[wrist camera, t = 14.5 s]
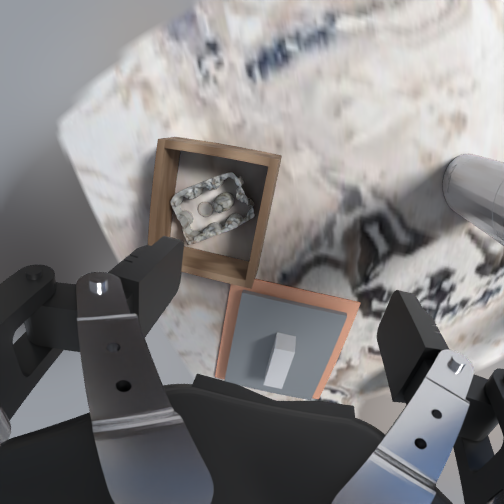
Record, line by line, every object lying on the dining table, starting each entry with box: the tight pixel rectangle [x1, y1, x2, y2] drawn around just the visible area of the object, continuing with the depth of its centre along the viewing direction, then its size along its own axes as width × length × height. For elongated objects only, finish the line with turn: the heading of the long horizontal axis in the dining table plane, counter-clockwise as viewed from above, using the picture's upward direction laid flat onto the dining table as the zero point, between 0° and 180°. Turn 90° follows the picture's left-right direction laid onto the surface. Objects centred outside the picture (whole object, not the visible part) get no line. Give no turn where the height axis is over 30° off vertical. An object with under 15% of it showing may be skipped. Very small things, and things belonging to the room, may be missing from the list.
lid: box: [224, 289, 347, 400], centre depth 50 cm, size 16×19×6 cm
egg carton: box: [170, 172, 255, 245], centre depth 44 cm, size 11×8×4 cm
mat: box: [215, 279, 361, 399], centre depth 53 cm, size 20×22×1 cm
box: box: [148, 137, 282, 289], centre depth 43 cm, size 15×17×6 cm
